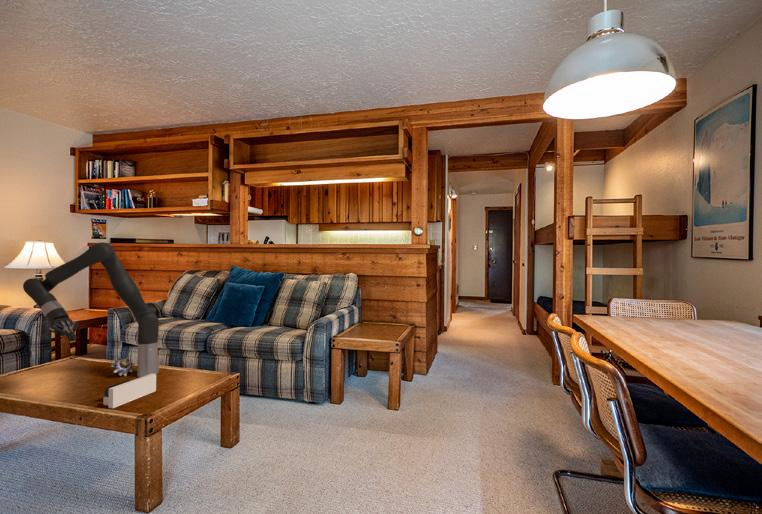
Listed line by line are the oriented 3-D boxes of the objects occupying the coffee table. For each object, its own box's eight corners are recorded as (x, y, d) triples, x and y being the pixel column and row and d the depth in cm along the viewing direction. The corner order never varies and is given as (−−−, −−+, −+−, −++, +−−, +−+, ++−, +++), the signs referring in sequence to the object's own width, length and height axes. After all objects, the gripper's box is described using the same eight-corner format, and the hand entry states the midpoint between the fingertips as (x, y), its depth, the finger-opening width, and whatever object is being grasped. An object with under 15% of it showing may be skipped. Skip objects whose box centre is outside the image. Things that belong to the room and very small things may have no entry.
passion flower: (124, 386, 203) (115, 372, 196) (109, 380, 206) (99, 366, 199) (142, 369, 212) (133, 355, 205) (127, 364, 215) (118, 350, 208)
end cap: (124, 393, 177) (124, 379, 177) (136, 395, 175) (137, 380, 175) (103, 401, 168) (104, 385, 168) (116, 403, 166) (116, 387, 166)
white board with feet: (143, 389, 183) (143, 372, 183) (156, 390, 181) (156, 373, 181) (98, 406, 162) (99, 387, 162) (112, 408, 160) (113, 389, 160)
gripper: (43, 309, 176) (63, 338, 173) (73, 305, 188) (92, 332, 186) (34, 320, 177) (54, 348, 174) (64, 315, 190) (83, 342, 187)
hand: (74, 340), depth 180 cm, fingers closed
